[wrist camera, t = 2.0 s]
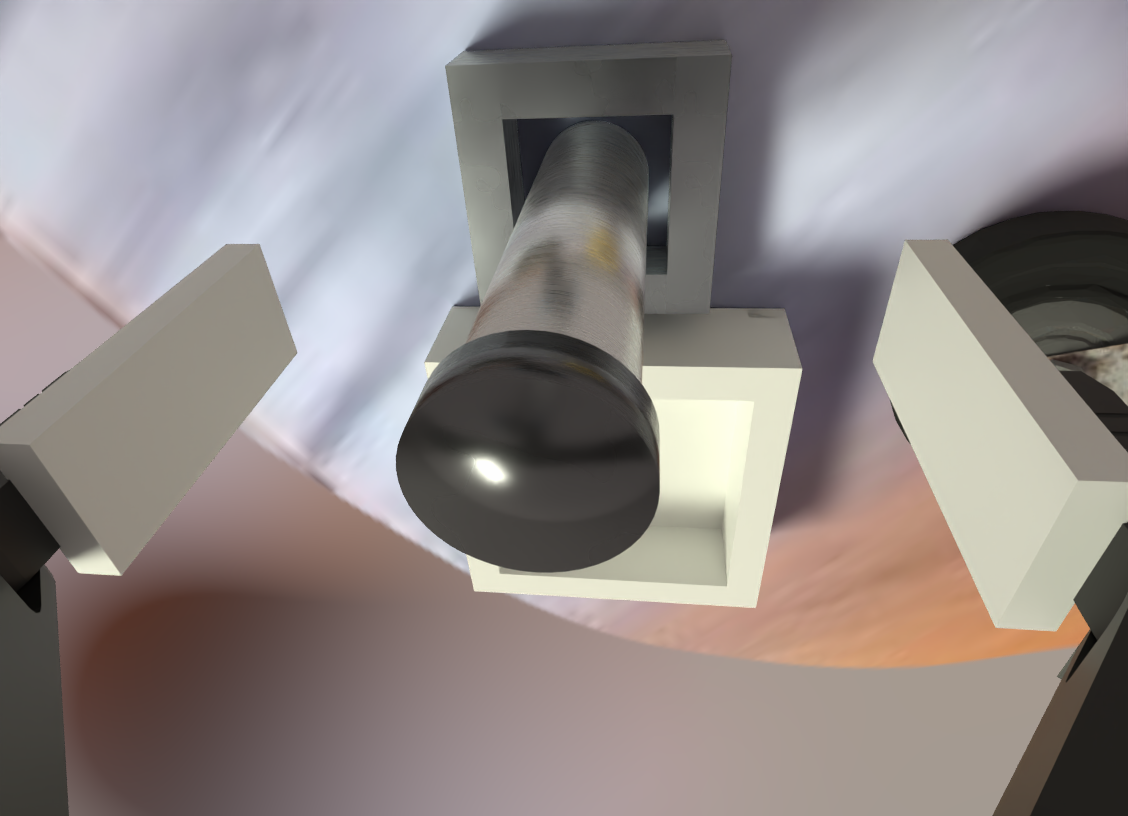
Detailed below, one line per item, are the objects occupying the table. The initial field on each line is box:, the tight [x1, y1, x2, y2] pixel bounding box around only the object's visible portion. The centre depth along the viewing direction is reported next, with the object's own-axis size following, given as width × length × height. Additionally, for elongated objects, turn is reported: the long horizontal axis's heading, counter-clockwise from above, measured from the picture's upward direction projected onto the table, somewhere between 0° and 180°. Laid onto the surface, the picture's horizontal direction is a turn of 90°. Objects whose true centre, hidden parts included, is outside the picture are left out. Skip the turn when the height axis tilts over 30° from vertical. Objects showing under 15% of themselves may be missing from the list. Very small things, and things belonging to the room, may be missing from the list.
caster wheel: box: [890, 211, 1128, 444], centre depth 20 cm, size 7×11×10 cm
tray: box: [424, 306, 802, 608], centre depth 25 cm, size 11×11×4 cm
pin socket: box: [445, 40, 732, 314], centre depth 19 cm, size 7×7×2 cm
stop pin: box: [396, 120, 660, 573], centre depth 15 cm, size 4×4×13 cm
